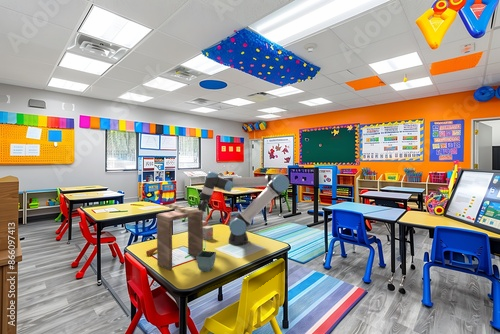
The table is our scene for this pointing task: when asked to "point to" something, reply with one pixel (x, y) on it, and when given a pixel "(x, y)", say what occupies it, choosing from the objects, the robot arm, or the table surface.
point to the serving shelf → (166, 235)
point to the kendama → (151, 251)
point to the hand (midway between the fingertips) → (197, 221)
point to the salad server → (184, 208)
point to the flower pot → (206, 260)
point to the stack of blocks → (207, 231)
